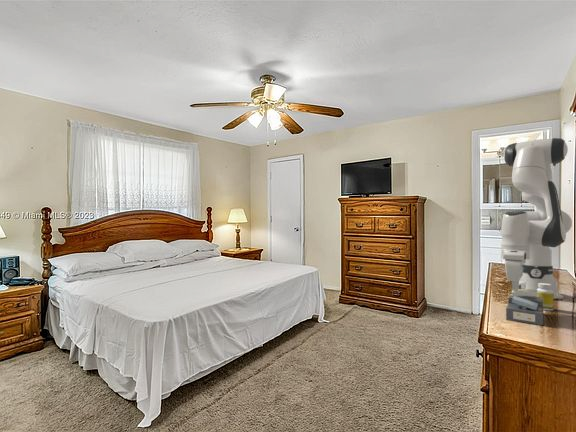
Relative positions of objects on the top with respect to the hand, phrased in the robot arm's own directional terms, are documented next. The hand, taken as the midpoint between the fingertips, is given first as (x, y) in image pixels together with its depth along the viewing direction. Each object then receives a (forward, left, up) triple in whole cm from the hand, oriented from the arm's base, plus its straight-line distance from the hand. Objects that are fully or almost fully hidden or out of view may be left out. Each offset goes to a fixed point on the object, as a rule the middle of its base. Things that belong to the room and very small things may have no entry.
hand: (515, 290), depth 121 cm
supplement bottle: (-13, +9, -9) cm, 18 cm away
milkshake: (-19, +1, -9) cm, 21 cm away
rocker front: (+8, +3, -2) cm, 9 cm away
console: (+4, +3, -8) cm, 10 cm away
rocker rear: (-1, +3, -1) cm, 3 cm away
